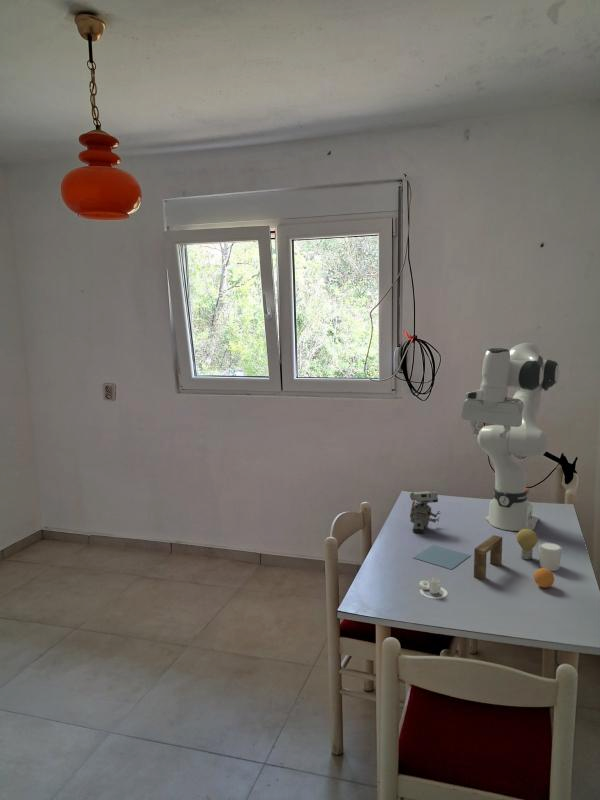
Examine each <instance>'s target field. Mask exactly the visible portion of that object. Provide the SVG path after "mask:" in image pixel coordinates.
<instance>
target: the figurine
mask: <svg viewBox="0 0 600 800" xmlns="http://www.w3.org/2000/svg"><path fill="white" fill-rule="evenodd" d="M409 498H410V500H411V501H412V503H411V504H412V505H411V508H410V509H411V510H410V512H409V513H410V514H409V515H410V516H409V518H410V519H409V520H410V521H409V522H411V523H412V524H413V528H412V532H413V533H417V532H418V533H420V534H424V533H425V527H428V526H429V522H432V523H434V524H435V523H436V522H440V517H438V518H437V516H438V515H440V513H441V511H440V510H438V511H437V513H433V512H432V506H431V505H428V504H431V503H438V502H439V499H438V494H437V491H436V490H427V491H426V490H425V491H414V492H411V493H410V494H409ZM431 516H432V517H433V518H432V517H431Z"/></svg>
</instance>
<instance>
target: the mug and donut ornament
mask: <svg viewBox="0 0 600 800" xmlns="http://www.w3.org/2000/svg"><path fill="white" fill-rule="evenodd" d="M440 582H441V581H440V580H439V579H438V578H436V577H431V578H429V579H428V581H427V580H421V581H420V582H419V583H418V586H419V588H420V589H419V593H420V594H421V595H422V596H424V597H425V598H428V599H433V600H439V599H444V598H446V597H447V596H448V594H449V593H448V591H447V590H446V589H445V588H443V587H442V586H441V585H440ZM424 591H429V592H430V594H433V595H437V594H438V593H439V592H440V591H442V592H443V594H442V595H440V596H431V595H428V594H425V592H424Z"/></svg>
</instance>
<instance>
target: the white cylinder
mask: <svg viewBox="0 0 600 800" xmlns="http://www.w3.org/2000/svg"><path fill="white" fill-rule="evenodd" d="M562 550H563V548H562V546H561V545H560V544H556V543H555V542H554V543H553V542H546V541H545V542H540V543H539V544H538V556H539V558H538V559H539V567H540V568H545V569H548V570H550V571H551V572H552V571H553V572H555V571H558V570H559V569H560V565H561V558H562Z"/></svg>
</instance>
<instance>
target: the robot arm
mask: <svg viewBox="0 0 600 800" xmlns="http://www.w3.org/2000/svg"><path fill="white" fill-rule="evenodd" d="M482 362H483V363H482V370H481V377H482V380H481V383H480V387H479V389H477V390H473V391H470V392H469V391H468V392H466V393H465V400H464V401H463V402H462V406H461V407H462V408H461V413H460V417H461V419H462V420H463V421H470V426H471V428H472V435H473V436H477V443H478V446H479V447H480V449H481V450H482V451H483V452H485V454H487V456H488V457H489V459H490V460H491V462H492V465H493V467H494V479H495V480H494V481H495V482H494V483H495V485H494V488H493V499H491V500H490V502H489V509H488V510H489V511H488V515H486V516H485V519H486V520H485V519H484V520H485V521H487V522H489V524H490V525H491V526H493V527H494V528H496V529H499V530H505V531H515V532H517V531H518V532H519V531H520V530H522V529H530V530H532V531H534V530H535V529H536V526H537V524H538V522H537V521H539V519H538V518H539V516H538V515H536V514H534V513H533V509H534V508H533V507H534V506H533V504H532V503H531V501H529V500H528V494H529V492H530V491H529V490H530V489H529V488H528V487H527V486H526V485H527V472H526V470H525V468H524V467H523V466H522V465H520V464H519V463H517V462H516V461H515V460H514V459H513V457H512V456H516V457H517V456H519V457H524V458H534V457H542V456H544V455H545V453H546V452H547V451H548V448H549V443H550V442H549V437H548V436H547V434H546V433H545V432H544V431H543V430H542V429H540V428H539V426H538V425H537V424H536V423H537V422H536V421H537V417H538V414H539V411H540V407H541V402H542V390H544V392H545V391H548V390H549V389H550V388H552V387H554V386H555V384H556V383H557V382H558V380H559V378H560V374H561V373H560V372H561V371H560V365H559V364H558V362H557V361H555V360H551V359H543V357H542V356H541V352H540V348H539V347H538V346H537V345H536V344H534V343H532V342H522V343H519V344H516V345H514V346H512V347H511V348H510V349H507V348H503V347H502V348H499V347H498V348H497V347H495V348H488V349H487V350H486V351H485V354H484V357H483V361H482ZM509 388H513V389H517V390H516V392H514V394H513V396H512V397H508V392H509ZM478 423H485V424H491V425H484V426H483V427H482V428H480V429H478V427H477V424H478ZM526 487H527V488H526ZM536 523H537V524H536Z"/></svg>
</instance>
